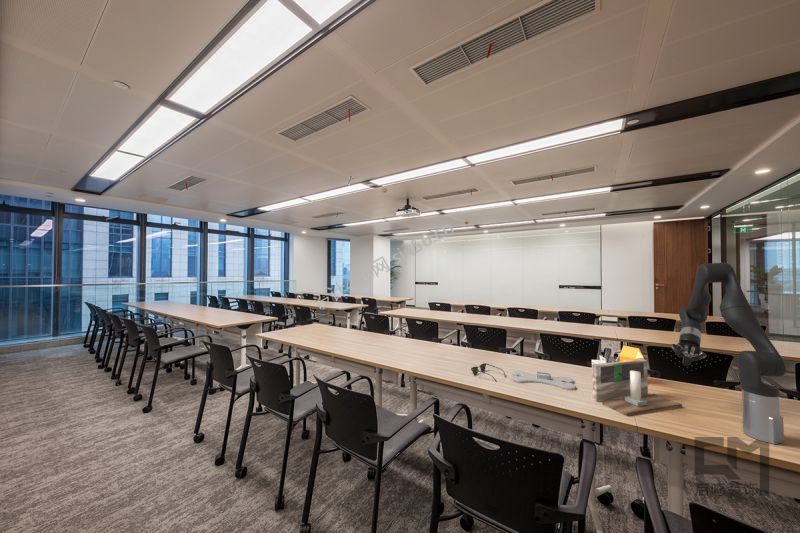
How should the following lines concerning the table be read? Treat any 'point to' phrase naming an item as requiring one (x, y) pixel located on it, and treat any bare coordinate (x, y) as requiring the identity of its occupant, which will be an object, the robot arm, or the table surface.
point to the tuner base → (625, 388)
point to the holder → (543, 379)
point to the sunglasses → (483, 369)
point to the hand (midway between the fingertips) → (686, 364)
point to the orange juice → (630, 354)
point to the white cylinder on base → (635, 389)
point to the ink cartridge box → (598, 362)
